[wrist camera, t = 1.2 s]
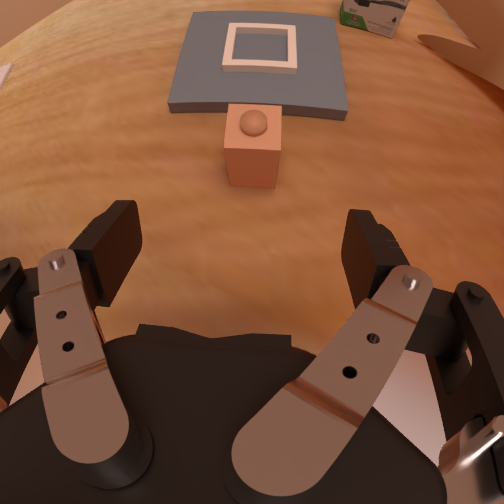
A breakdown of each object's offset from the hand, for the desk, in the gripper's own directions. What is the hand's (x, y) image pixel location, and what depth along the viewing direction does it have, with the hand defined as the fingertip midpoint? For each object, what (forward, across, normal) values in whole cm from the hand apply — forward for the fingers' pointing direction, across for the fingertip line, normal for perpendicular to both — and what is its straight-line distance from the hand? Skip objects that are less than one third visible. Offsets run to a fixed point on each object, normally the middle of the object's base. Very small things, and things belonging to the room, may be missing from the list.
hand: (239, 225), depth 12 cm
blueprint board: (+33, 0, -6) cm, 33 cm away
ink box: (+42, -16, -14) cm, 47 cm away
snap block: (+22, 0, +5) cm, 22 cm away
